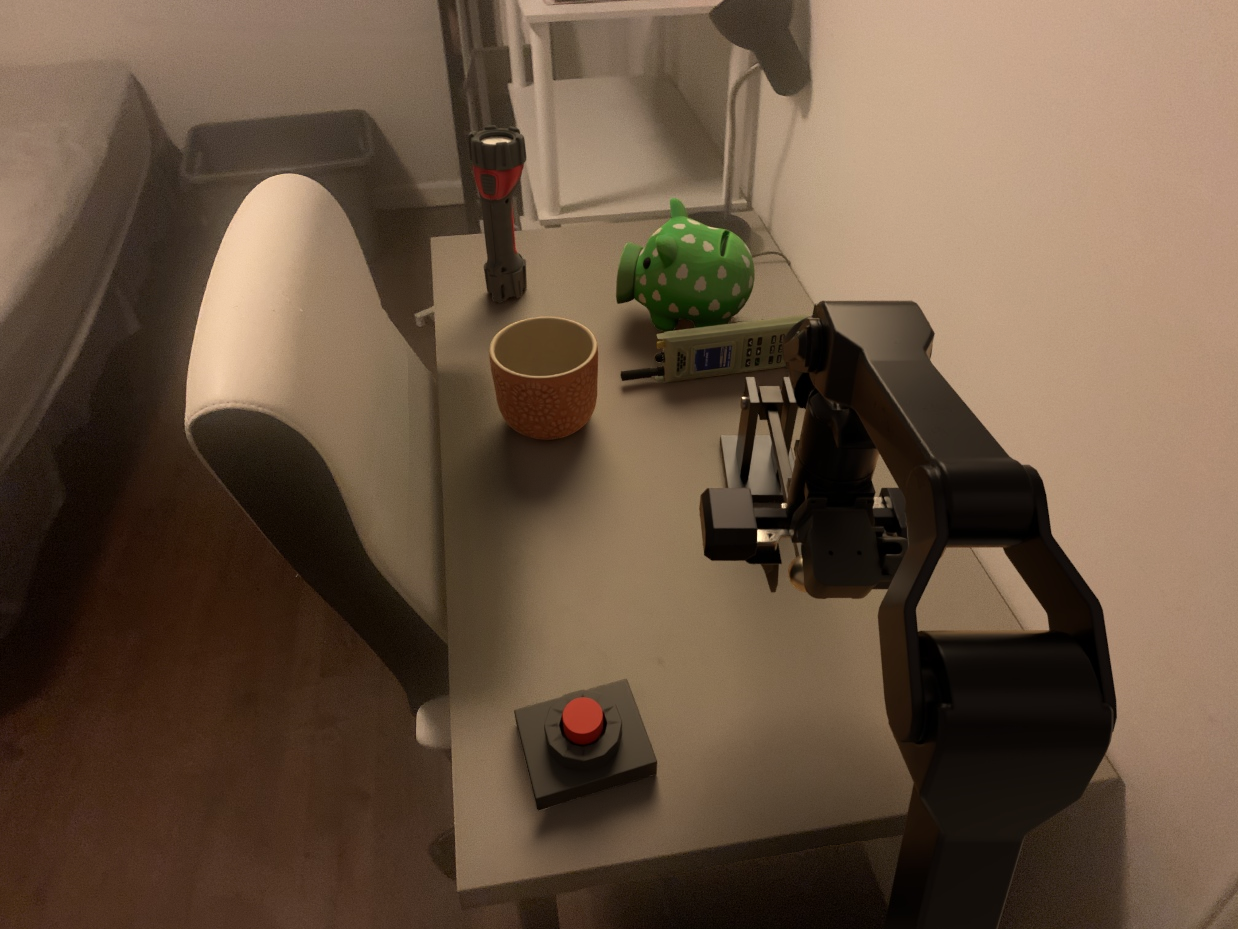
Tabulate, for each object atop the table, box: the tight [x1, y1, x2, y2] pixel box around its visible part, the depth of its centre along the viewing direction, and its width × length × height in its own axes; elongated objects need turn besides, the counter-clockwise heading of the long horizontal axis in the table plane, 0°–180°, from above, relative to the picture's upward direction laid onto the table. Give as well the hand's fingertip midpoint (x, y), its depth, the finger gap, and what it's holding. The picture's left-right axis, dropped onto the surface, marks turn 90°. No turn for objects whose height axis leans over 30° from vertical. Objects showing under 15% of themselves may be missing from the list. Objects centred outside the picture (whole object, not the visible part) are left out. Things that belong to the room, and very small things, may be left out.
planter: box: [488, 316, 599, 441], centre depth 95 cm, size 12×12×11 cm
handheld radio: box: [619, 314, 810, 384], centre depth 103 cm, size 7×3×25 cm
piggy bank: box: [615, 197, 756, 333], centre depth 110 cm, size 14×18×15 cm
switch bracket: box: [719, 376, 800, 504], centre depth 88 cm, size 10×8×12 cm
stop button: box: [562, 697, 603, 745], centre depth 64 cm, size 3×3×2 cm
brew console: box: [513, 678, 658, 812], centre depth 66 cm, size 10×8×4 cm
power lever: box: [757, 385, 807, 593], centre depth 76 cm, size 26×3×3 cm, turn 0°
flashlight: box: [467, 124, 528, 304], centre depth 113 cm, size 8×8×23 cm
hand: (803, 588), depth 69 cm, fingers open, 5 cm apart
